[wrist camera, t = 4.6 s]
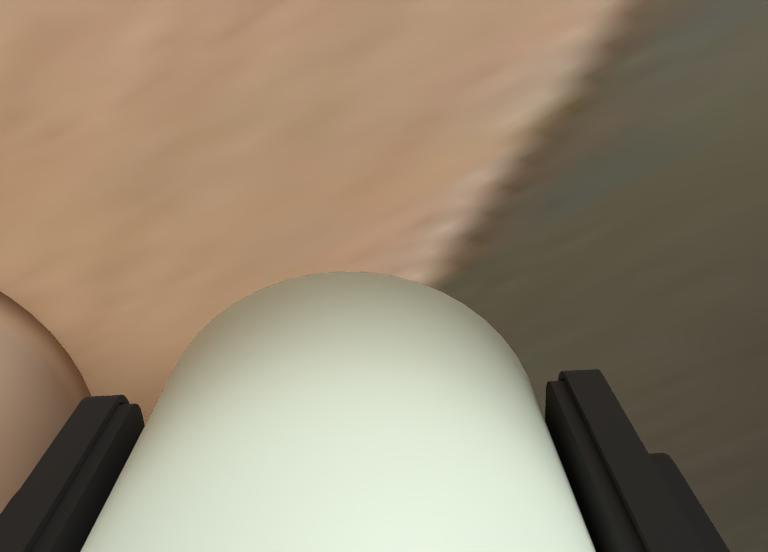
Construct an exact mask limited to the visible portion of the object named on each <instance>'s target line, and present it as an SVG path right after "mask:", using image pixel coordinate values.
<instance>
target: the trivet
mask: <svg viewBox="0 0 768 552" xmlns="http://www.w3.org/2000/svg"><path fill="white" fill-rule="evenodd" d="M84 397H91V395H90V392H89V390H88V388H87V386H86V384H85V382H84V380H83V377H82V375H81V373H80V372H79V370H78V369H77V367H76V365H75V364H74V362H73V361H72V359H71V358H70V356H69V354H68V353H67V352H66V350H65V349H64V348H63V347H62V346H61V344H60V343H59V342H58V341H57V340H56V338H55V337H54V336H53V335H52V334H51V332H50V331H48V330H47V329H46V328H45V327H44V326H43V325H42V324H41V323H40V322H39V321H38V320H37V319H36V318H35V317H34V316H33V315H32V314H30V313H29V312H28V311H27V310H25V309H24V308H23V307H21V306H20V305H19V304H17V303H16V302H15V301H13V300H12V299H11V298H9V297H8V296H6V295H5V294H3V293H1V292H0V514H1V512H2V511H3V510H4V508H5V507H6V505H7V504H8V502H9V501H10V500H11V498H12V497H13V496H14V495H15V494H16V493H17V491H18V490H19V489H20V488H21V486H22V485H23V484H24V482H25V481H26V479H27V478H28V476H29V475H30V474H31V472H32V471H33V469H34V468H35V466H36V465H37V463H38V462H39V461H40V459H41V458H42V456H43V455H44V453H45V452H46V450H47V449H48V448H49V446H50V445H51V443H52V442H53V440H54V439H55V437H56V436H57V435H58V433H59V432H60V430H61V429H62V427H63V426H64V425H65V423H66V422H67V420H68V419H69V417H70V416H71V414H72V413H73V412H74V410H75V409H76V407H77V406H78V404H79V403H80V401H81V400H82V399H83V398H84Z"/></svg>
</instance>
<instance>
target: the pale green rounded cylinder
mask: <svg viewBox="0 0 768 552" xmlns="http://www.w3.org/2000/svg"><path fill="white" fill-rule="evenodd" d="M81 552H596V550H595V548H594V545H593V543H592V540H591V537H590V535H589V532H588V530H587V527H586V525H585V522H584V519H583V517H582V514H581V512H580V509H579V507H578V504H577V502H576V499H575V496H574V494H573V491H572V489H571V486H570V484H569V481H568V478H567V476H566V473H565V471H564V468H563V466H562V463H561V461H560V458H559V455H558V453H557V450H556V448H555V445H554V443H553V440H552V438H551V435H550V432H549V430H548V427H547V425H546V422H545V420H544V417H543V414H542V412H541V409H540V407H539V404H538V402H537V399H536V397H535V394H534V391H533V389H532V386H531V384H530V381H529V379H528V376H527V374H526V372H525V370H524V368H523V367H522V365H521V363H520V361H519V359H518V358H517V356H516V354H515V353H514V352H513V350H512V349H511V348H510V346H509V345H508V344H507V343H506V341H505V340H504V339H503V337H502V336H501V335H500V334H499V333H498V332H497V331H496V330H495V329H494V328H493V327H492V326H491V325H490V324H489V323H488V322H487V321H485V320H484V319H483V318H482V317H481V316H479V315H478V314H476V313H475V312H474V311H472V310H471V309H470V308H468V307H467V306H466V305H464V304H463V303H461V302H459V301H457V300H455V299H453V298H452V297H450V296H448V295H446V294H444V293H443V292H441V291H438V290H435V289H433V288H430V287H428V286H425V285H423V284H420V283H418V282H414V281H410V280H407V279H403V278H399V277H395V276H391V275H384V274H376V273H368V272H329V273H320V274H312V275H306V276H302V277H298V278H294V279H290V280H286V281H282V282H279V283H277V284H274V285H271V286H269V287H266V288H264V289H261V290H258V291H256V292H254V293H253V294H251V295H249V296H247V297H245V298H243V299H241V300H240V301H238V302H236V303H234V304H233V305H231V306H230V307H229V308H227V309H226V310H225V311H223V312H222V313H221V314H219V315H218V316H216V317H215V318H214V319H213V320H212V321H211V322H210V323H209V324H208V325H207V326H206V327H205V328H204V329H203V330H202V331H200V332H199V333H198V334H197V336H196V337H195V338H194V339H193V341H192V342H191V343H190V345H189V346H188V347H187V349H186V350H185V351H184V352H183V354H182V356H181V358H180V359H179V361H178V363H177V365H176V367H175V368H174V370H173V372H172V374H171V376H170V378H169V380H168V382H167V384H166V386H165V388H164V390H163V391H162V393H161V395H160V397H159V399H158V401H157V403H156V405H155V407H154V409H153V411H152V413H151V415H150V417H149V419H148V421H147V423H146V425H145V427H144V429H143V431H142V432H141V434H140V436H139V438H138V440H137V442H136V444H135V446H134V448H133V450H132V452H131V454H130V456H129V458H128V460H127V462H126V464H125V466H124V468H123V470H122V471H121V473H120V475H119V477H118V479H117V481H116V483H115V485H114V487H113V489H112V491H111V493H110V495H109V497H108V499H107V501H106V503H105V505H104V507H103V509H102V511H101V512H100V514H99V516H98V518H97V520H96V522H95V524H94V526H93V528H92V530H91V532H90V534H89V536H88V538H87V540H86V542H85V544H84V546H83V548H82V550H81Z"/></svg>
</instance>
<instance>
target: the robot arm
mask: <svg viewBox="0 0 768 552" xmlns="http://www.w3.org/2000/svg"><path fill="white" fill-rule="evenodd" d="M545 422H546V425H547V427H548V430H549V432H550V435H551V438H552V440H553V443H554V445H555V448H556V450H557V453H558V455H559V458H560V461H561V463H562V466H563V468H564V471H565V473H566V476H567V478H568V481H569V484H570V486H571V489H572V491H573V494H574V496H575V499H576V502H577V504H578V507H579V509H580V512H581V514H582V517H583V519H584V522H585V525H586V527H587V530H588V532H589V535H590V537H591V540H592V543H593V545H594V548H595V550H596V552H730V551H729V549H728V548H727V546H726V545H725V543H724V541H723V540H722V538H721V537H720V535H719V533H718V532H717V530H716V529H715V527H714V525H713V524H712V522H711V521H710V519H709V517H708V516H707V514H706V513H705V511H704V509H703V508H702V506H701V504H700V503H699V501H698V500H697V498H696V496H695V495H694V493H693V492H692V490H691V488H690V487H689V485H688V484H687V482H686V480H685V479H684V477H683V476H682V474H681V472H680V471H679V469H678V468H677V466H676V464H675V463H674V461H673V460H672V459H671V458H670V457H669V455H667V454H664V453H655V454H648V452H647V450H646V449H645V447H644V445H643V443H642V442H641V440H640V438H639V436H638V435H637V433H636V431H635V430H634V428H633V426H632V424H631V423H630V421H629V419H628V417H627V416H626V414H625V412H624V411H623V409H622V407H621V405H620V404H619V402H618V400H617V399H616V397H615V395H614V393H613V392H612V390H611V388H610V386H609V385H608V383H607V381H606V380H605V378H604V376H603V374H602V373H601V372H600V370H597V369H594V370H576V371H561V373H560V374H559V379H558V381H548V383H547V386H546V408H545ZM144 427H145V426H144V421H143V416H142V412H141V409H140V407H139V405H138V404H129V401H128V400H127V398H126V397H125V396H124V395H112V396H93V397H84V398H83V399H82V400H81V401H80V403H79V404H78V406H77V407H76V409H75V410H74V412H73V413H72V414H71V416H70V417H69V419H68V420H67V422H66V423H65V425H64V426H63V427H62V429H61V430H60V432H59V433H58V435H57V436H56V437H55V439H54V440H53V442H52V443H51V445H50V446H49V448H48V449H47V450H46V452H45V453H44V455H43V456H42V458H41V459H40V461H39V462H38V463H37V465H36V466H35V468H34V469H33V471H32V472H31V474H30V475H29V476H28V478H27V479H26V481H25V482H24V484H23V485H22V486H21V488H20V489H19V490H18V491H17V493H16V494H15V495H14V496H13V497H12V498H11V500H10V501H9V502H8V504H7V505H6V507H5V508H4V510H3V511H2V512H1V514H0V552H81V550H82V548H83V546H84V544H85V542H86V540H87V538H88V536H89V534H90V532H91V530H92V528H93V526H94V524H95V522H96V520H97V518H98V516H99V514H100V512H101V511H102V509H103V507H104V505H105V503H106V501H107V499H108V497H109V495H110V493H111V491H112V489H113V487H114V485H115V483H116V481H117V479H118V477H119V475H120V473H121V471H122V470H123V468H124V466H125V464H126V462H127V460H128V458H129V456H130V454H131V452H132V450H133V448H134V446H135V444H136V442H137V440H138V438H139V436H140V434H141V432H142V431H143V429H144Z"/></svg>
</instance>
